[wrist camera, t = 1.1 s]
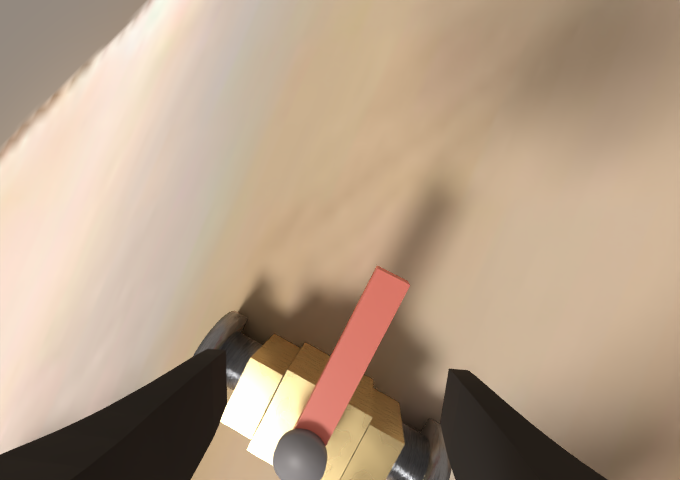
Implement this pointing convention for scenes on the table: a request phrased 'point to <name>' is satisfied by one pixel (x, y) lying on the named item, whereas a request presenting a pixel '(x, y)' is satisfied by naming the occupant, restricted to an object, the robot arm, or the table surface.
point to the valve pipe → (291, 397)
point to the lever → (339, 379)
